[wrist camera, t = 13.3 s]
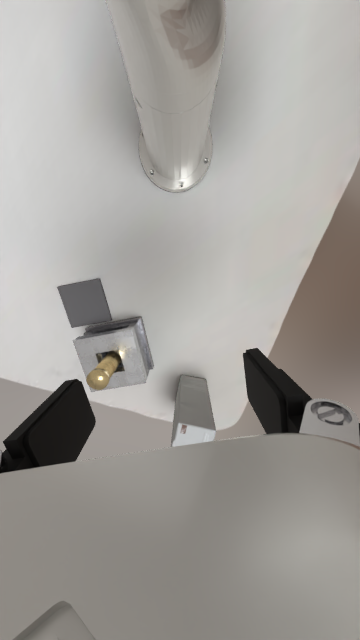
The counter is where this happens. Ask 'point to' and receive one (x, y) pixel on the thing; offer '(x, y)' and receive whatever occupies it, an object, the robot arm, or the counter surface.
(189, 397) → the skincare box
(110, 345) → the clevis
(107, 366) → the pin
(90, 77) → the counter surface
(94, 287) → the mat
